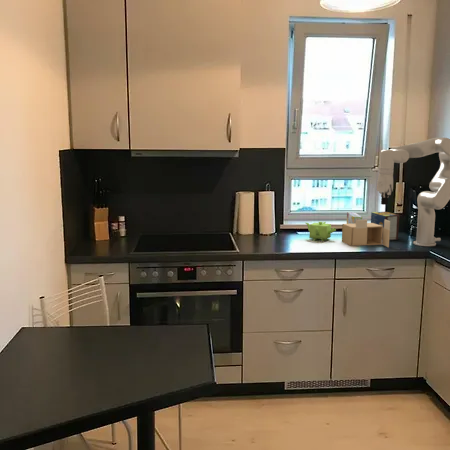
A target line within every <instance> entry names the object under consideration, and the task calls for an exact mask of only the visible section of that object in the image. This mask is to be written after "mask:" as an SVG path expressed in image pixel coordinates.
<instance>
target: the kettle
mask: <svg viewBox="0 0 450 450" xmlns="http://www.w3.org/2000/svg"><path fill="white" fill-rule="evenodd" d="M305 224H306V225H307V229H308V232H309V236H308V238H309V239H312V241H317V240H320V241H321V242H325V241H327V240H328V239H329V238H331V237H332V236H331V234H333V233H334V232H336V231H337V230H336V227H332V224H331V223H326V221H318V222H313V223H311V224H310V223H309V222H305Z"/></svg>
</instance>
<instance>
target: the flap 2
mask: <svg viewBox="0 0 450 450" xmlns="http://www.w3.org/2000/svg"><path fill="white" fill-rule="evenodd" d="M389 235H390V221H388V220H384V228H383V238H382V245H383V246H384V247H387V248H390V240H389Z"/></svg>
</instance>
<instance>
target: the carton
mask: <svg viewBox="0 0 450 450" xmlns="http://www.w3.org/2000/svg"><path fill="white" fill-rule="evenodd" d="M353 228H356V223H355V224H347V223H342V228H341V231H342V232H341V243H344V244H346V245H348V246H350V247H354V246H356V247H359V246H361V245H354V246H352V240H353ZM382 234H383V226H381V225H378V224H375V223H371V222H367V245H366V246H378V245H383V244H382Z"/></svg>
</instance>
